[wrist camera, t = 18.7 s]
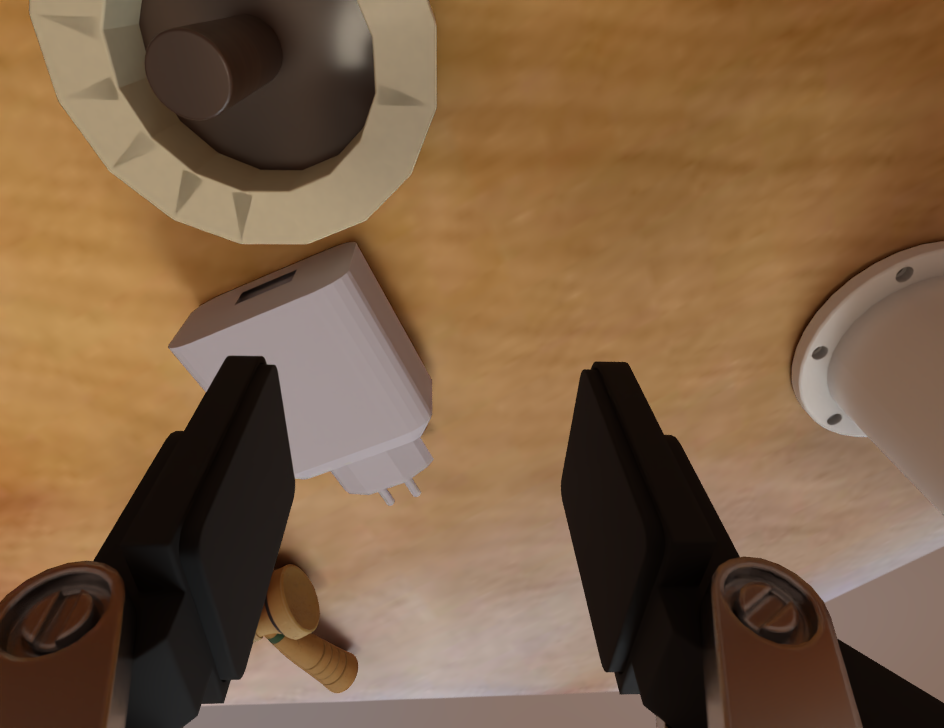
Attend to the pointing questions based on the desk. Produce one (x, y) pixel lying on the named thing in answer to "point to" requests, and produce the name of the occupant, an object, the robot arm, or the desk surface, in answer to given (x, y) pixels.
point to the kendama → (303, 630)
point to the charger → (326, 367)
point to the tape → (215, 175)
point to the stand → (262, 75)
